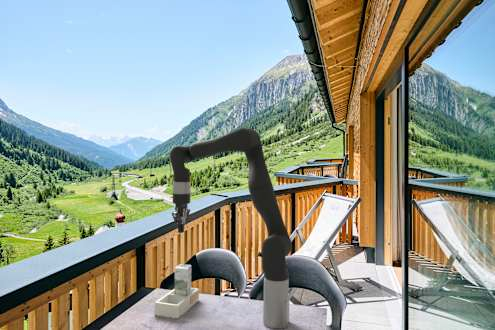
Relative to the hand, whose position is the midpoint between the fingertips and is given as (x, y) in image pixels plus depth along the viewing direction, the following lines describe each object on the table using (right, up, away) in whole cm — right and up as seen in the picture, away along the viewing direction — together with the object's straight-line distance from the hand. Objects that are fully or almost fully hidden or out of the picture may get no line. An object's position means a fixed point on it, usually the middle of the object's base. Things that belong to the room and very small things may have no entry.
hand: (181, 232), depth 156 cm
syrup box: (+1, -28, -4) cm, 28 cm away
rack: (0, -29, -8) cm, 30 cm away
